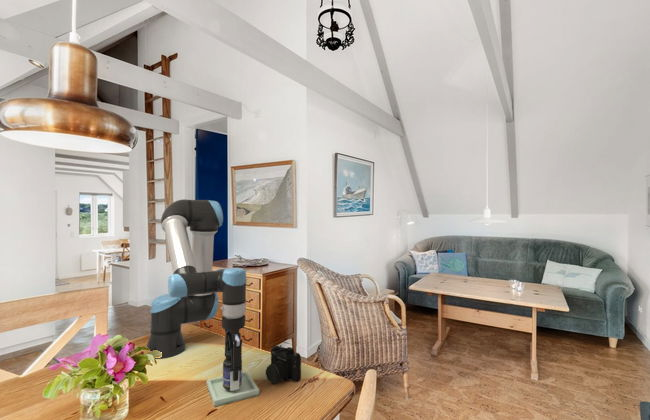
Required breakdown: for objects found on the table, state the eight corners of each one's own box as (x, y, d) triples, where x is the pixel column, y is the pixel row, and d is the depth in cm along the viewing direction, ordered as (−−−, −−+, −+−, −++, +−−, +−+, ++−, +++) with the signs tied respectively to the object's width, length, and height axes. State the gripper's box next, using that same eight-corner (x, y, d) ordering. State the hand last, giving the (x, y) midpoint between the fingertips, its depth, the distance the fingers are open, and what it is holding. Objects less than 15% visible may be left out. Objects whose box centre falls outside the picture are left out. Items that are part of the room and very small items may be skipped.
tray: (206, 385, 110) (206, 379, 110) (247, 375, 117) (247, 370, 117) (214, 406, 98) (214, 401, 98) (258, 395, 105) (259, 389, 105)
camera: (255, 376, 117) (256, 349, 117) (278, 366, 125) (278, 340, 125) (281, 391, 108) (282, 361, 108) (303, 379, 116) (304, 351, 116)
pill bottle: (236, 391, 104) (236, 357, 104) (218, 389, 105) (219, 355, 105) (244, 381, 110) (245, 349, 110) (228, 379, 111) (228, 347, 111)
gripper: (216, 308, 114) (215, 374, 114) (228, 325, 98) (226, 402, 97) (237, 306, 118) (236, 369, 118) (252, 322, 101) (251, 396, 101)
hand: (232, 384), depth 108 cm, fingers closed on pill bottle, 6 cm apart
